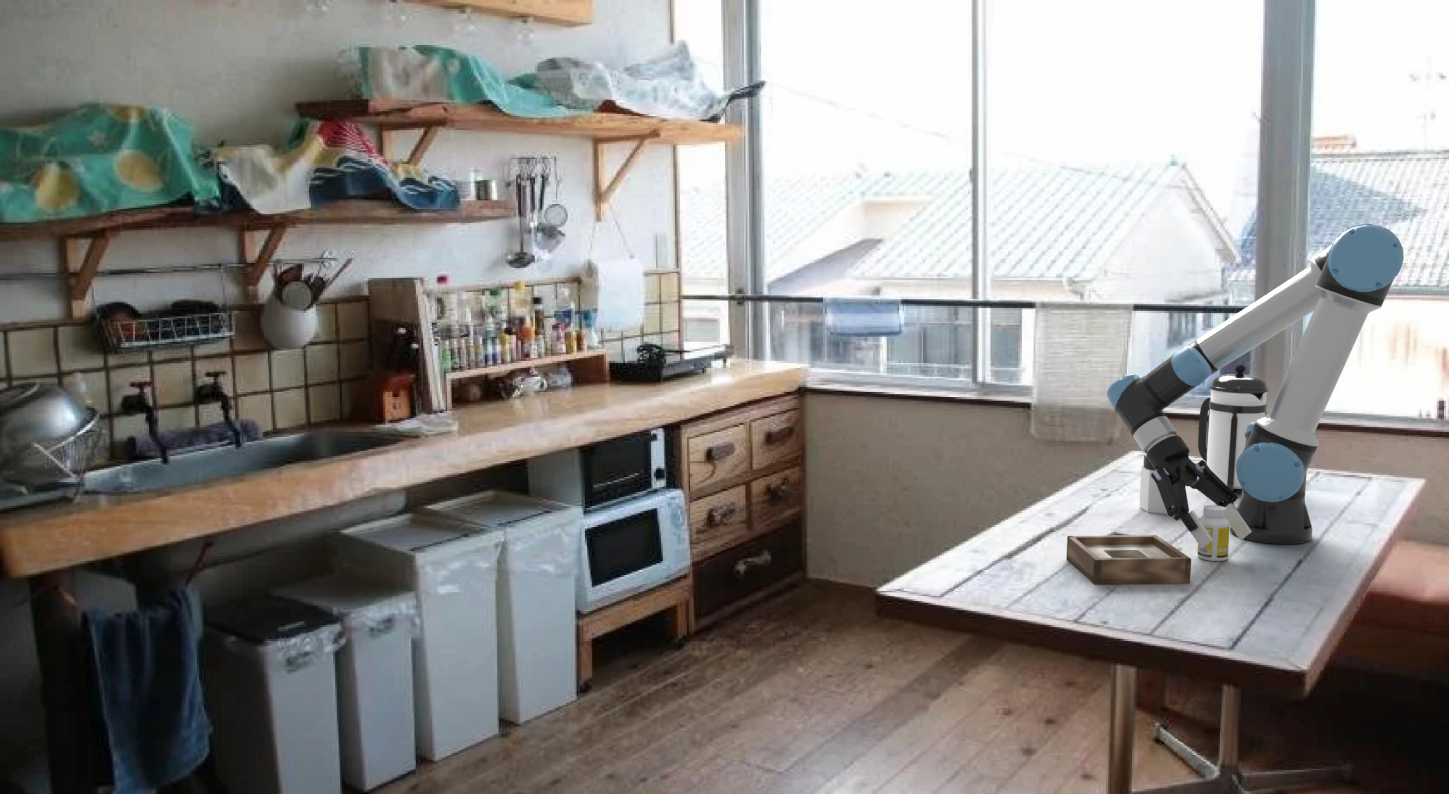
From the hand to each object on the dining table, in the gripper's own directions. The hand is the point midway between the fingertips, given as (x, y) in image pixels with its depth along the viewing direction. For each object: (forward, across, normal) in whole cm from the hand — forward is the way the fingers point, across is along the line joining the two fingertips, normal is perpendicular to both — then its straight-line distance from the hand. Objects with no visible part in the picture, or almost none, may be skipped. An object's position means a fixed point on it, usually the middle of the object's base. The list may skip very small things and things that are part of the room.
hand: (1226, 540), depth 229 cm
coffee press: (-24, -54, -30) cm, 67 cm away
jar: (-20, -23, -27) cm, 41 cm away
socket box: (-1, +21, -7) cm, 22 cm away
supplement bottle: (+1, 0, -5) cm, 5 cm away
